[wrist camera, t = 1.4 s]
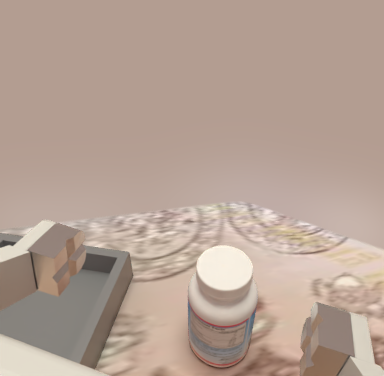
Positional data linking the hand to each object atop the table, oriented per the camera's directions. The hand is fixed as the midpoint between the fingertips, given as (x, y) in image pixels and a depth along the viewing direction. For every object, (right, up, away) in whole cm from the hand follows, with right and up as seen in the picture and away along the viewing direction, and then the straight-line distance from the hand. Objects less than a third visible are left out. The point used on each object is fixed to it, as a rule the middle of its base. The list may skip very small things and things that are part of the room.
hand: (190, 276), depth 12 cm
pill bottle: (+3, -12, +23) cm, 26 cm away
